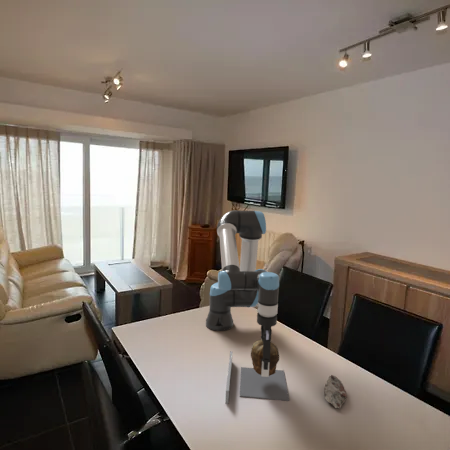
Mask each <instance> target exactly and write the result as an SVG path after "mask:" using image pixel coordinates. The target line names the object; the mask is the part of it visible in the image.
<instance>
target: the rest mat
mask: <svg viewBox="0 0 450 450" xmlns="http://www.w3.org/2000/svg"><path fill="white" fill-rule="evenodd" d="M275 372H276V373H275V374H273V375H270V376H269V377H263V376H261V375H260V374H258V373H257V372H256V371H255V370H254V369H253V367H247V366H240V381H239V397H240V398H250V399H251V398H252V399H253V398H254V399H260V400H261V399H264V400H265V399H266V400H276V401H290V397H289V391H288V385H287V380H286V374H285V370H284V369H283V370H281V369H276V370H275Z"/></svg>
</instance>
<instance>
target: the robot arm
mask: <svg viewBox="0 0 450 450" xmlns="http://www.w3.org/2000/svg"><path fill="white" fill-rule="evenodd" d="M266 221H267V220H266V216H265V214H264V213H263V211H260V210H236V209H233V210H229V211H227V212H226V213H225V214H222V216H221V217H220V218H219V220H218V222H217V224H216V233H217V236H218V237H219V247H220V248H219V249H220V258H221V261H220V262H221V270H220V271H218V273H217V282H215V283H213V284H212V285H211V286H210V289H209V290H210V291H209V309H208V314H207V317H206V318H205V326H206V327H207V328H208V329H210V330H212V331H217V332H219V331H220V332H221V331H222V332H224V331H228V330H231V329H232V328H233V327H234V319H233V315H232V312H231V311H232V310H231V308H255V307H257V314H256V323H257V324H258V325H259V326H260V334H261V336H260V340H261V339H262V341H263V358H262V359H261V361H262V371H261V376H263V377H269V363H270V344H271V342H272V334H273V331H272V327H275V326H276V325H277V323H278V322H277V321H278V315H277V314H278V309H279V308H278V307H279V303H278V302H279V290H280V289H279V288H280V276H279V275H278V274H277V273H275V272H271V271H267V270H266V269H263V268H259V269H257V262H258V261H257V260H258V250H259V240H261V239H262V238H263V237H262V236H263V235H265V234H266V232H267V222H266ZM236 234H238V235H239V238H240V239H241V248H240V259H239V252H238V246H237V238H236Z"/></svg>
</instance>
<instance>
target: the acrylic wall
mask: <svg viewBox="0 0 450 450" xmlns="http://www.w3.org/2000/svg"><path fill="white" fill-rule="evenodd" d="M228 361H229V362H228V368H227V378H226V386H225V387H226V388H225V404H227V405H229V399H230V390H231V388H230V387H231V377H232V370H233V369H232V366H233V351H230V353H229V360H228Z"/></svg>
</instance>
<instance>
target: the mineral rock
mask: <svg viewBox="0 0 450 450" xmlns="http://www.w3.org/2000/svg"><path fill="white" fill-rule="evenodd" d="M327 379H328V380H327V381H326V383H325V385H324V389H323V396H324V398H325V400H326V402H328V403H330V404H331V405H332V406H333V407H334V408H335V409H341V408H342V405H343V404H344V403H345V401H346V400H347V398H348V397H347V391H346V389H345V386H344V384H343V383H342V381H341V380H340V379H339V378H338V377H337V376H336V375H333V374H331V375H329V376H328V378H327Z"/></svg>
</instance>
